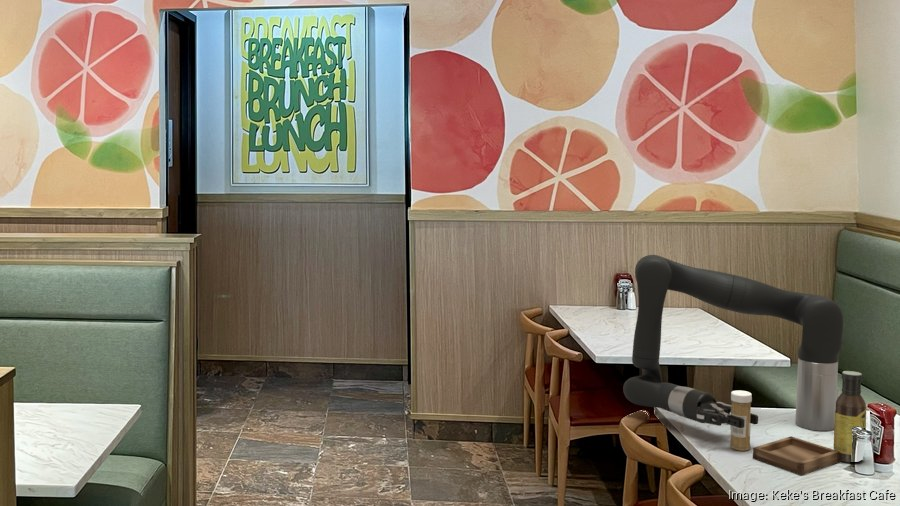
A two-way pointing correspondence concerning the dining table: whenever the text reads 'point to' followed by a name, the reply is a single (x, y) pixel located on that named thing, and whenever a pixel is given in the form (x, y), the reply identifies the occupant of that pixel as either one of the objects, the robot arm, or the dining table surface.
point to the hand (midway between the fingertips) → (750, 421)
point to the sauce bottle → (848, 413)
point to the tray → (796, 455)
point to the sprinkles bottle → (742, 410)
